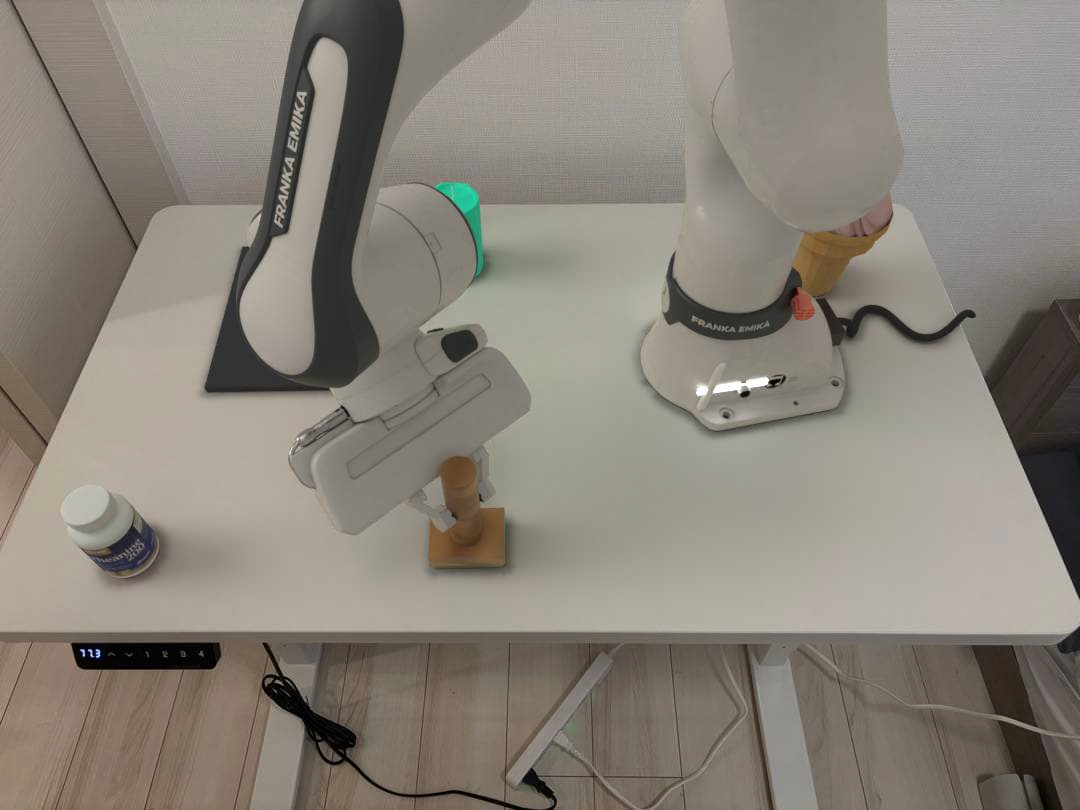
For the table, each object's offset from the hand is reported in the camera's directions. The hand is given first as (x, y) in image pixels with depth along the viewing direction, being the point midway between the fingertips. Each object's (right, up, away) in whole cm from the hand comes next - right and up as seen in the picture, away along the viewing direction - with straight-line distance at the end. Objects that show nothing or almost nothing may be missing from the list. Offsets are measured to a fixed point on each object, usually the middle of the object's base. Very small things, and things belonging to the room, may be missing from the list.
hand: (468, 511), depth 70 cm
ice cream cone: (+39, +24, +28) cm, 54 cm away
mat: (-22, +20, +23) cm, 38 cm away
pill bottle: (-33, -5, +6) cm, 33 cm away
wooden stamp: (-1, -4, +7) cm, 8 cm away
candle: (-4, +27, +29) cm, 39 cm away
